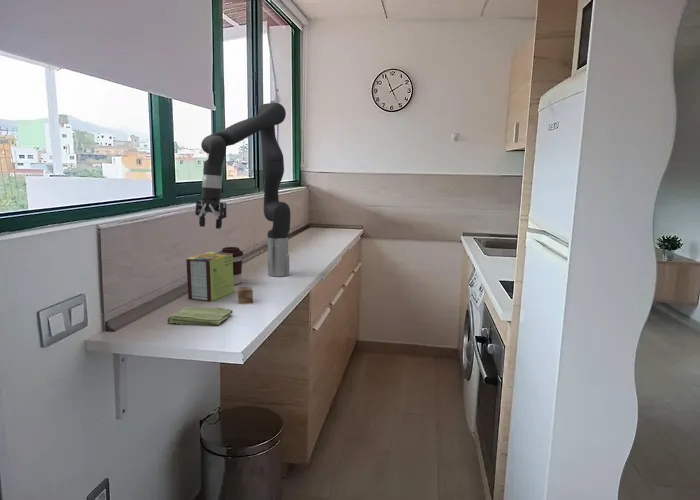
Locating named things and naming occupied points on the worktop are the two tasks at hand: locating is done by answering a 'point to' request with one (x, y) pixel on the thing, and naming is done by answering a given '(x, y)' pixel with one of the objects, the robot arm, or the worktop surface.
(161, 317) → the worktop surface
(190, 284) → the protein box
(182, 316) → the washcloth
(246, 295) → the walnut cube
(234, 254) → the coffee cup
